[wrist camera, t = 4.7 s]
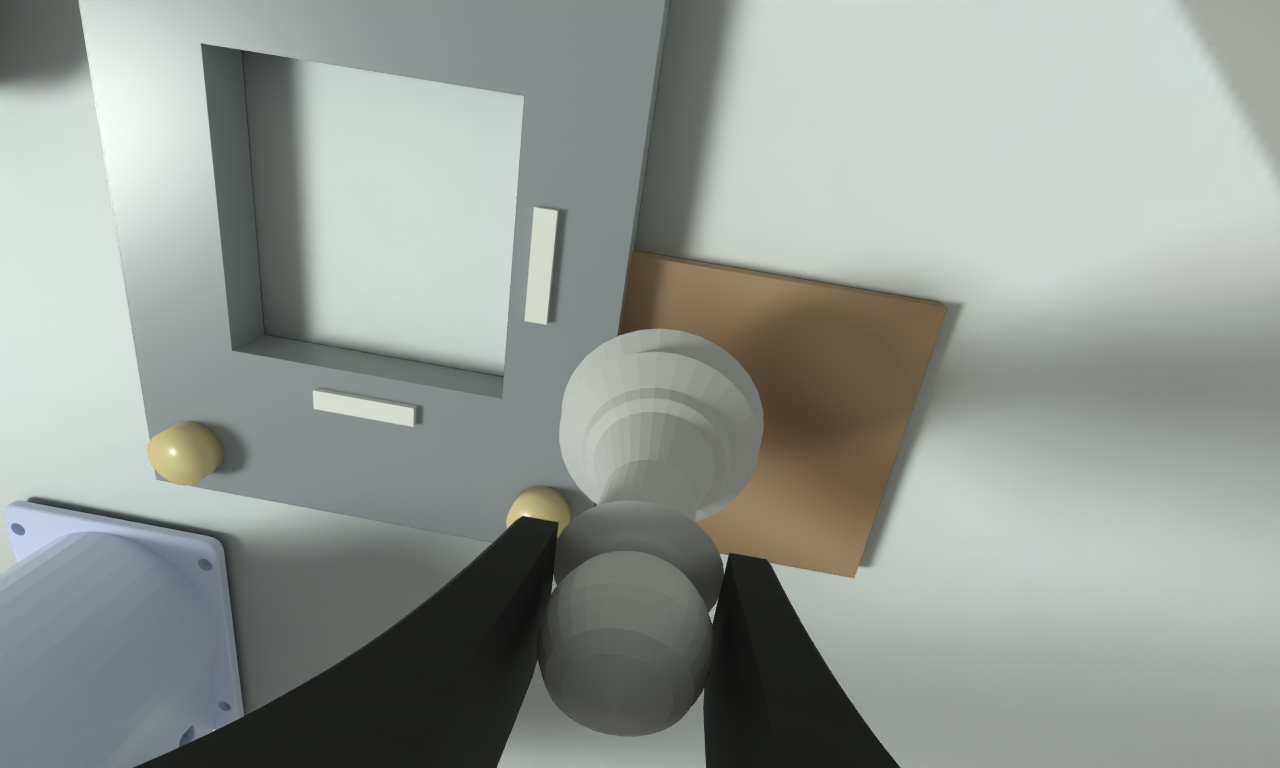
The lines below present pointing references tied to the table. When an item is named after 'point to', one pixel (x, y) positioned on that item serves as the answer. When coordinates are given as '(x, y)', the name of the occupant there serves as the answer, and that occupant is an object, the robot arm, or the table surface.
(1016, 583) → the table surface
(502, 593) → the robot arm
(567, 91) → the cover plate
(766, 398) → the walnut pad
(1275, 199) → the table surface
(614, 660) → the chess piece
